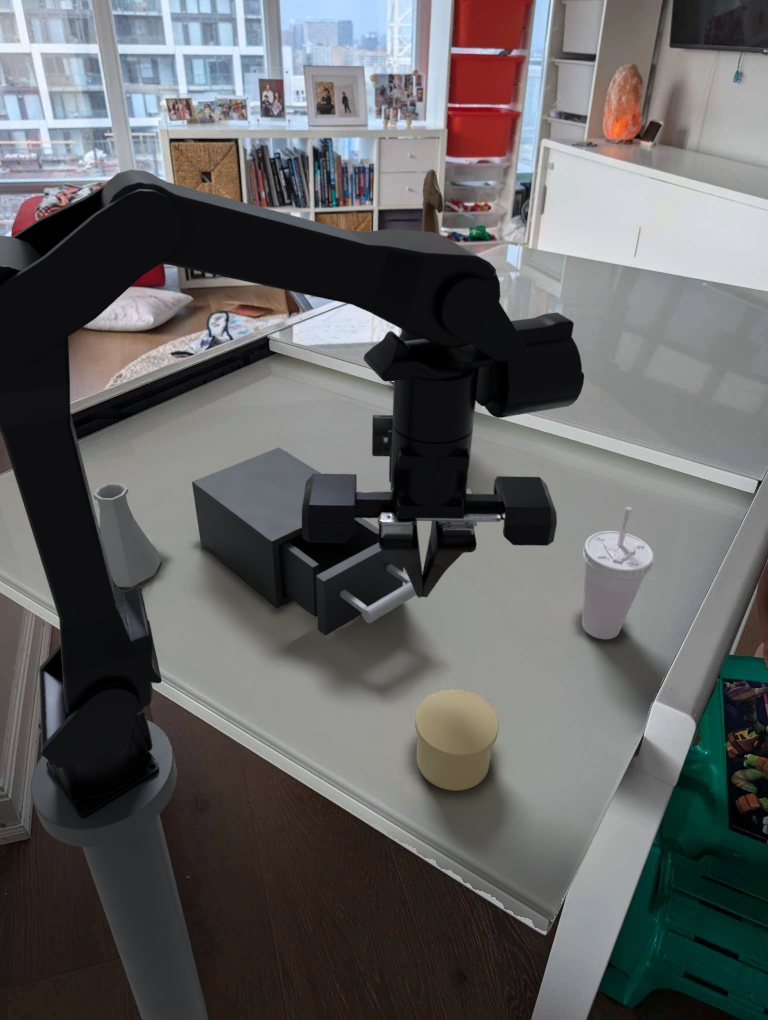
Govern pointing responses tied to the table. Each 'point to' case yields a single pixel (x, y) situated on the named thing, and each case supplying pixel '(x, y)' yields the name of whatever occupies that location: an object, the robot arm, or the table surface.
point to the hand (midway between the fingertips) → (421, 593)
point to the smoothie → (612, 578)
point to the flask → (124, 538)
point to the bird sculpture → (431, 204)
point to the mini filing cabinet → (253, 517)
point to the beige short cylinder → (455, 738)
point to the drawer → (343, 578)
